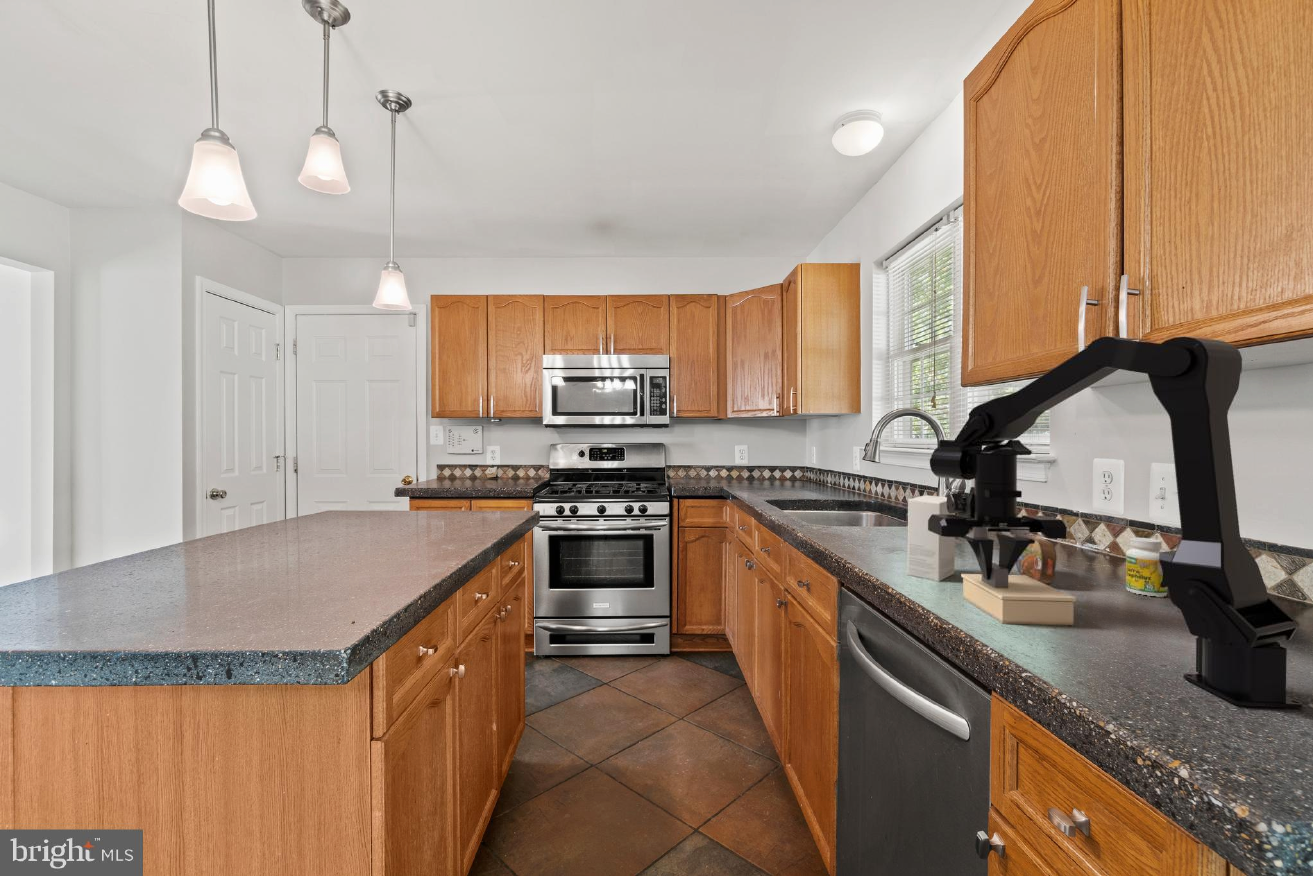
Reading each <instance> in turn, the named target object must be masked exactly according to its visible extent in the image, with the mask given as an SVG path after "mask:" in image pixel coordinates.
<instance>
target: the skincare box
mask: <svg viewBox="0 0 1313 876" xmlns="http://www.w3.org/2000/svg"><path fill="white" fill-rule="evenodd" d="M907 501H908V502H907V503H908V504H907V551H906V552H907V554H906V557H907V558H906V561H907V562H906V565H907V566H906V575H907V576H910V577H914V578H920V579H925V580H928V581H929V580H930V581H934V582H938V583H939V582H941V581H942V580H945V579H947V578H949V577H951V576H953V575H954V574H955V563H956V561H955V559H956V558H955V557H956V556H955V555H956V553H955V552H956V550H955V549H956V544H955V543H956V537H944V536H940V535H938V534H936V533H933V532H931V531H929V530H928V520H929V518H930V517H931V515H932V514H952V515H956V513H949V512H948V511H947V505H946V504H947V496H946V497H945V496H938V495H937V496H936V495H927V494H925V495H921V496H917V497H913V498H909V499H907Z"/></svg>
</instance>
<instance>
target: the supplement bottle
mask: <svg viewBox="0 0 1313 876" xmlns="http://www.w3.org/2000/svg"><path fill="white" fill-rule="evenodd" d="M1130 545H1131V546H1132V548H1130V549H1127V551H1126V553H1125V558H1126V559H1125V560H1126V561H1125V566H1126V567H1125V570H1126V571H1125V583H1126V584H1125V587H1126V590H1127V591H1128V592H1129V591H1130V592H1129V593H1131V594H1134V593H1136V594H1135V595H1138V594H1142V595H1141V596H1143V595H1147V596H1146V597H1150V596H1156V597H1155V598H1164V596H1165V597H1166V596H1167V595H1168V592H1167V587H1165V588H1161V587H1160V584H1161V582H1162V578H1163V572H1162V568H1161V564H1160V561H1159V553H1160V552H1161V551H1160V550H1162V548H1163V547H1162V540H1160V539H1156V538H1155V539H1154V538H1148V537H1131V538H1130Z"/></svg>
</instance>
